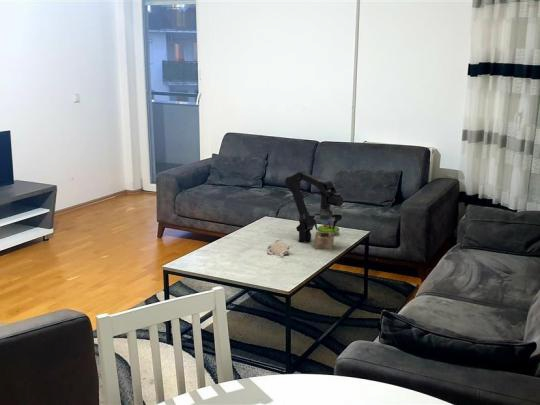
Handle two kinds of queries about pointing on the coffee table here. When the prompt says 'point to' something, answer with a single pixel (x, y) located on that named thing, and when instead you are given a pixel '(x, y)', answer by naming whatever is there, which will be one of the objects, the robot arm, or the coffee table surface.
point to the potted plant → (328, 226)
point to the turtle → (279, 248)
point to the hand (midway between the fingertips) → (324, 230)
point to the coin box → (324, 240)
